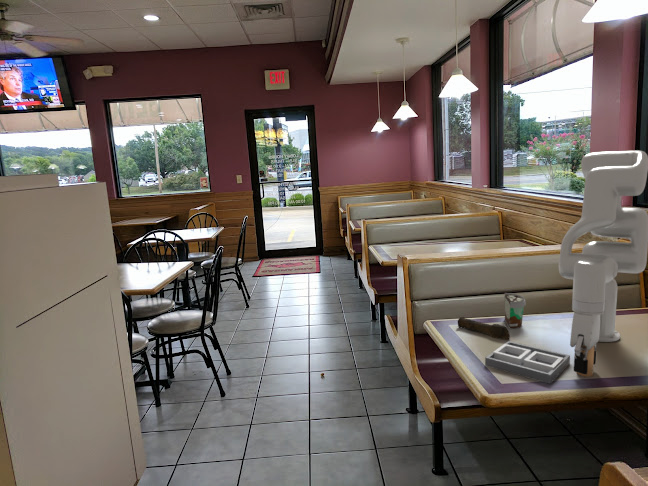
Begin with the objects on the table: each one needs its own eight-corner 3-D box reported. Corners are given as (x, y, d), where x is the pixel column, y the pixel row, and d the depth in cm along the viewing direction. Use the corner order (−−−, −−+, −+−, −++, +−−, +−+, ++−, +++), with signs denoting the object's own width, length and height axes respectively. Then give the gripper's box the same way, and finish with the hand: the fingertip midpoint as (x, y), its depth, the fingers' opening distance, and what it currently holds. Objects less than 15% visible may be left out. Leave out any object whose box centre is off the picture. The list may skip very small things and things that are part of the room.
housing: (508, 348, 148) (508, 339, 147) (569, 363, 135) (570, 353, 135) (485, 365, 136) (485, 355, 136) (549, 383, 124) (550, 373, 123)
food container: (528, 330, 162) (529, 302, 160) (510, 329, 163) (510, 302, 162) (521, 318, 174) (522, 292, 172) (503, 318, 175) (504, 292, 173)
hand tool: (456, 328, 168) (456, 316, 167) (463, 325, 170) (463, 313, 169) (504, 343, 153) (504, 330, 152) (511, 340, 155) (511, 326, 154)
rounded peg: (578, 368, 132) (580, 342, 130) (594, 372, 129) (596, 345, 128) (574, 373, 129) (575, 346, 128) (590, 378, 126) (591, 350, 125)
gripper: (582, 295, 134) (579, 354, 137) (562, 311, 122) (559, 375, 125) (612, 300, 129) (608, 361, 132) (594, 316, 117) (590, 383, 120)
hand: (584, 367), depth 129 cm, fingers open, 6 cm apart
